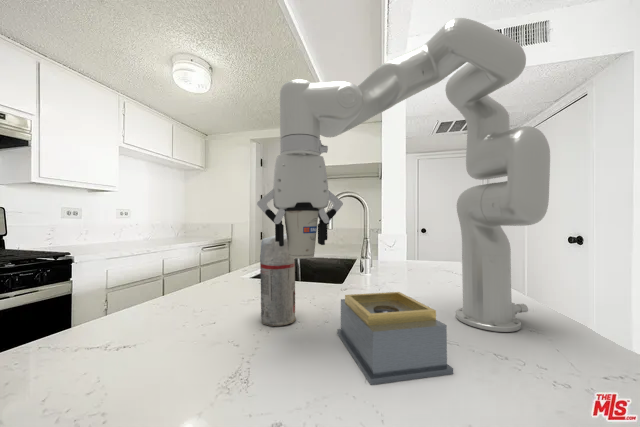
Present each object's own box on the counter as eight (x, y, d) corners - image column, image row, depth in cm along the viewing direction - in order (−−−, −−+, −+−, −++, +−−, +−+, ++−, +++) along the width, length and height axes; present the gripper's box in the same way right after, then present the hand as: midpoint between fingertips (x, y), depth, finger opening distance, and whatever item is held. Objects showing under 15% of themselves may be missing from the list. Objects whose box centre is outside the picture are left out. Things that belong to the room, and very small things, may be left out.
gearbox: (337, 333, 53) (337, 291, 53) (402, 327, 56) (401, 287, 56) (370, 385, 36) (370, 323, 36) (461, 372, 39) (460, 315, 39)
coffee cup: (275, 258, 47) (274, 203, 47) (297, 253, 53) (297, 205, 53) (306, 260, 43) (305, 201, 44) (327, 255, 49) (326, 203, 50)
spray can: (289, 329, 55) (290, 234, 55) (253, 326, 56) (254, 234, 57) (300, 315, 63) (301, 233, 64) (268, 312, 65) (269, 232, 65)
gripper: (339, 157, 54) (340, 242, 54) (253, 153, 51) (254, 244, 50) (350, 147, 47) (352, 245, 46) (252, 142, 43) (252, 248, 43)
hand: (301, 244), depth 48 cm, fingers closed on coffee cup, 7 cm apart
